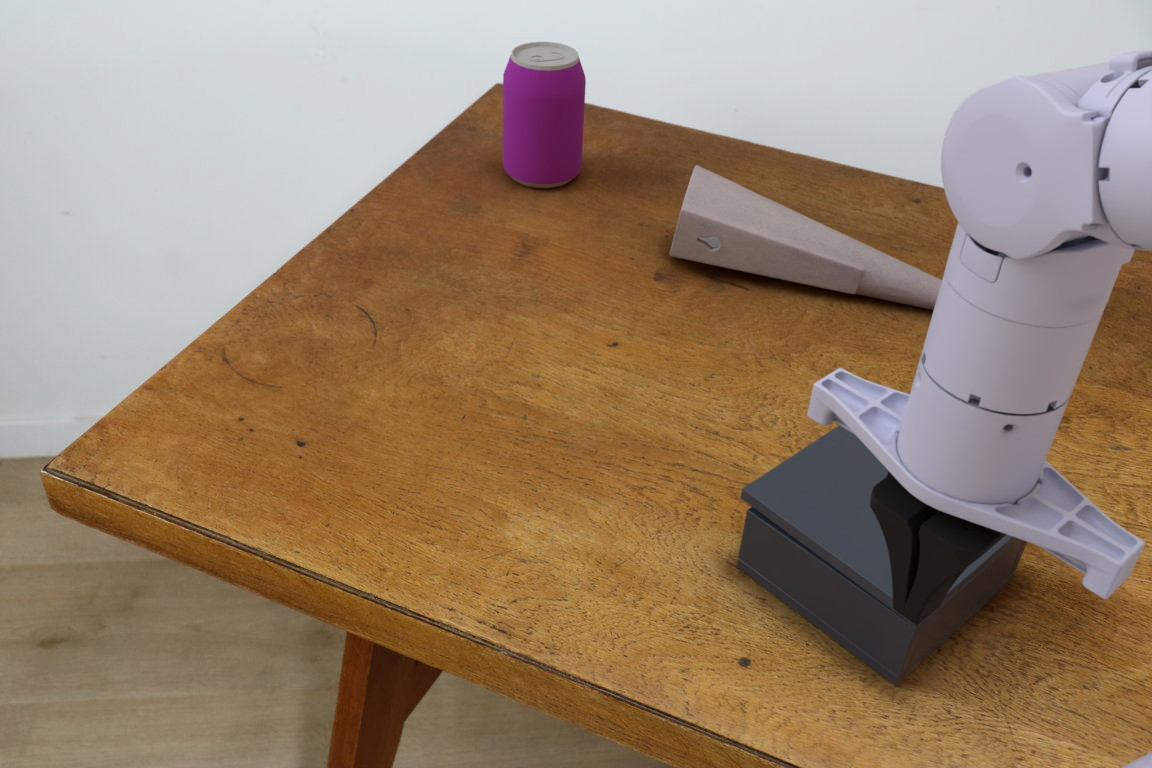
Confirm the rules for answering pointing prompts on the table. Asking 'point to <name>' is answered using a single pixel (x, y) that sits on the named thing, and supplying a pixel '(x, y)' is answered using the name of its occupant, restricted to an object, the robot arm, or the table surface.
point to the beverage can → (543, 114)
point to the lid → (840, 511)
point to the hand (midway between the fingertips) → (916, 606)
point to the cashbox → (862, 599)
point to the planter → (787, 245)
